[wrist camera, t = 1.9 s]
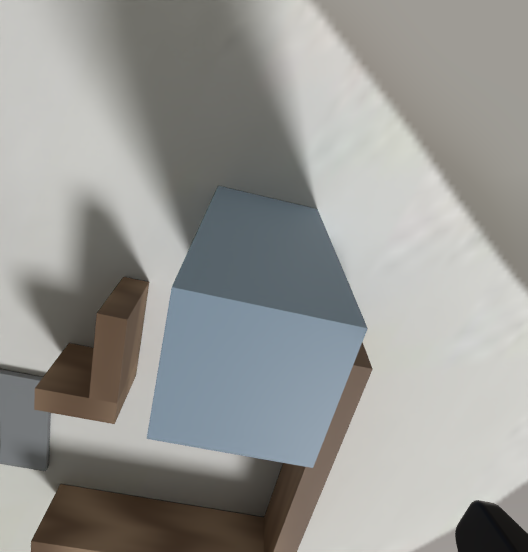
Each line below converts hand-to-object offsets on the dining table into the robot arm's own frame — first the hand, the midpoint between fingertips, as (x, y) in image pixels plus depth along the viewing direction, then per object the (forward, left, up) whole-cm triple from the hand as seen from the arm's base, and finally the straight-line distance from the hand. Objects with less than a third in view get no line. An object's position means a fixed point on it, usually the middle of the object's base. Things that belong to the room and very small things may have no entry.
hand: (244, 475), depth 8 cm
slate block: (0, 0, -12) cm, 13 cm away
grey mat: (-12, -13, -12) cm, 22 cm away
